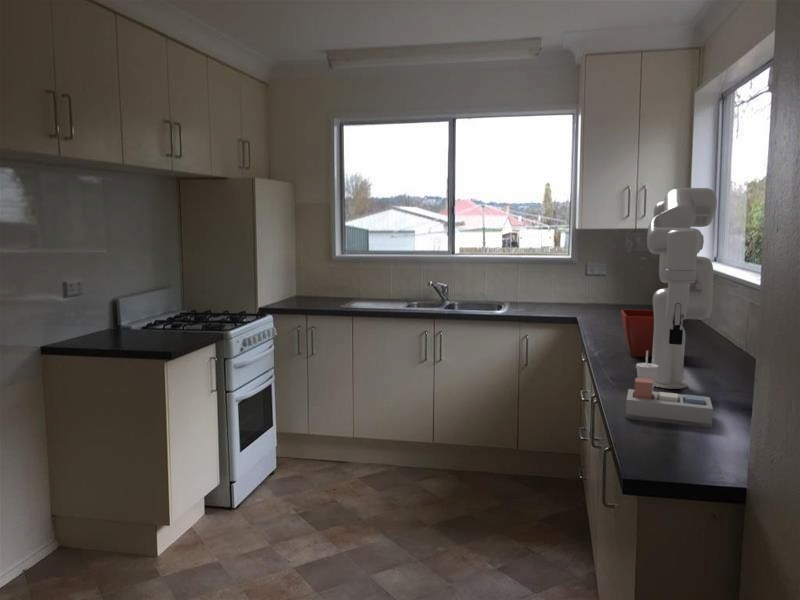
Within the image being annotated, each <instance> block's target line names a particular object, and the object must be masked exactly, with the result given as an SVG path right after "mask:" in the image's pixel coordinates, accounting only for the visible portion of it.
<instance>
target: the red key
mask: <svg viewBox="0 0 800 600" xmlns="http://www.w3.org/2000/svg"><path fill="white" fill-rule="evenodd" d="M652 385H653V379H643V378H638V377H635V379H634V398H643V399H652Z"/></svg>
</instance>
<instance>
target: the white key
mask: <svg viewBox="0 0 800 600" xmlns="http://www.w3.org/2000/svg"><path fill="white" fill-rule="evenodd" d="M659 392H660V397H659V400H662V401H671V402H678V394H679V393H677V392H676V393H674V392H664V391H659Z"/></svg>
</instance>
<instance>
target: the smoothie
mask: <svg viewBox="0 0 800 600" xmlns="http://www.w3.org/2000/svg"><path fill="white" fill-rule="evenodd" d="M635 369H636V374H637V378H643V379H653V385H652V391H654V388H655V386H654V383H655V378H656V373H657V370H658V365H655V364H652V362H651V363H649V357H648V351H646V357H645V362H638V363H636V365H635Z"/></svg>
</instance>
